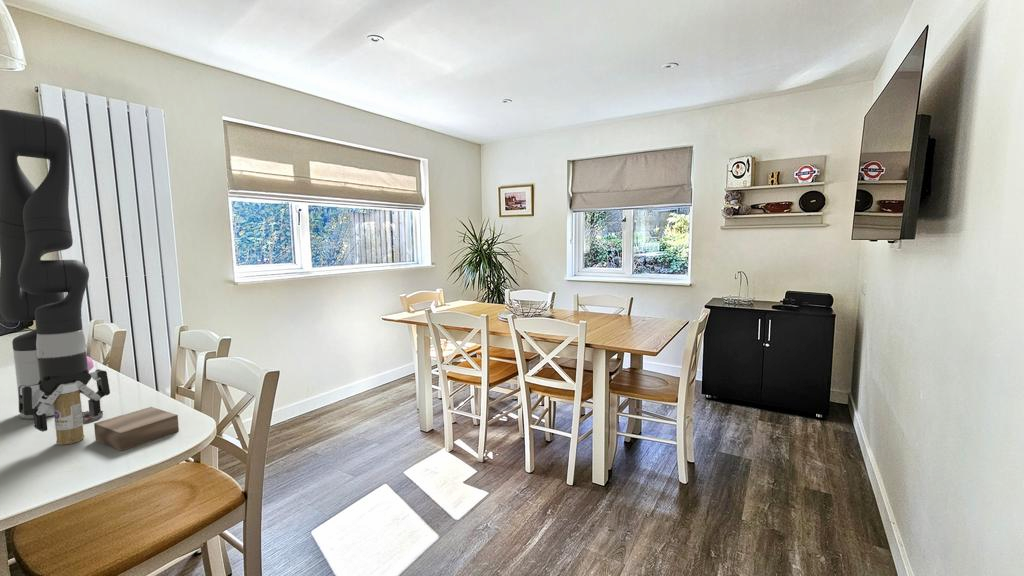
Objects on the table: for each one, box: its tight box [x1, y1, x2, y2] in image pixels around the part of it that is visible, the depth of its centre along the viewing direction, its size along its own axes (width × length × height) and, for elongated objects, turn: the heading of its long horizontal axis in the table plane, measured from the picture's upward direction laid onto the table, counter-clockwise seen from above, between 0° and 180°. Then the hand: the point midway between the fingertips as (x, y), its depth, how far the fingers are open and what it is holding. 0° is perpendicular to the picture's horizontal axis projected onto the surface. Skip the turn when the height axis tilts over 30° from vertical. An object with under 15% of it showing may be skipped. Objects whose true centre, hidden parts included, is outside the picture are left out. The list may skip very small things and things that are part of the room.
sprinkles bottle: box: [53, 382, 85, 446], centre depth 98 cm, size 5×5×14 cm
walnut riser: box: [93, 406, 180, 452], centre depth 102 cm, size 11×11×4 cm
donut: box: [82, 410, 104, 425], centre depth 110 cm, size 8×8×2 cm
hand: (69, 423), depth 99 cm, fingers open, 8 cm apart
